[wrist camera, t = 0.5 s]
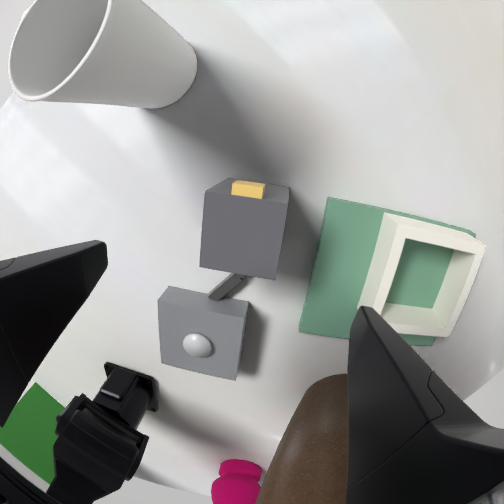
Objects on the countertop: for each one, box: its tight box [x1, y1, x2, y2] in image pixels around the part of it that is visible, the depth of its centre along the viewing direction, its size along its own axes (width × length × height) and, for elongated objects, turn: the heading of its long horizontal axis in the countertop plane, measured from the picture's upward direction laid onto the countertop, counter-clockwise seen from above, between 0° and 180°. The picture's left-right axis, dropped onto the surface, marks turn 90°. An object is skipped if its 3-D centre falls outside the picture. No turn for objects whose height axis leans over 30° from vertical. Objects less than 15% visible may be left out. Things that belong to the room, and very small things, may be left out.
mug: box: [8, 0, 197, 109], centre depth 12 cm, size 10×7×12 cm, turn 51°
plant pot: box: [255, 374, 349, 504], centre depth 20 cm, size 15×15×16 cm
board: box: [299, 197, 486, 346], centre depth 20 cm, size 11×13×4 cm
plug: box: [199, 178, 289, 280], centre depth 19 cm, size 5×4×6 cm
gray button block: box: [158, 273, 249, 381], centre depth 23 cm, size 12×7×3 cm, turn 173°
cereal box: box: [0, 382, 65, 493], centre depth 28 cm, size 18×7×24 cm, turn 50°
